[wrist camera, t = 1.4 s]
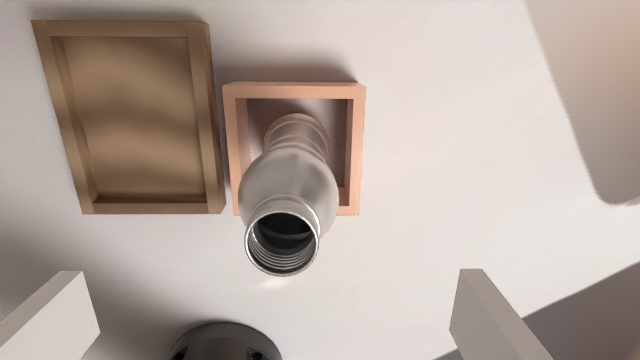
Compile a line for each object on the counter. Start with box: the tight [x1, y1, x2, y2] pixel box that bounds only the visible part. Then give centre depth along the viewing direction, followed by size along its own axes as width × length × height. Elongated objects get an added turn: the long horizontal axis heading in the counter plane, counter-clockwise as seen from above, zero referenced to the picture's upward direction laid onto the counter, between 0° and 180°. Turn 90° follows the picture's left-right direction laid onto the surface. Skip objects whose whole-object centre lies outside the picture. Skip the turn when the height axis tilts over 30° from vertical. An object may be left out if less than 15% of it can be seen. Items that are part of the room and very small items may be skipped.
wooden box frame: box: [222, 81, 366, 216], centre depth 32 cm, size 12×12×5 cm
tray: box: [31, 20, 226, 214], centre depth 32 cm, size 18×14×2 cm
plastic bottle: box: [238, 113, 339, 277], centre depth 25 cm, size 6×7×20 cm
